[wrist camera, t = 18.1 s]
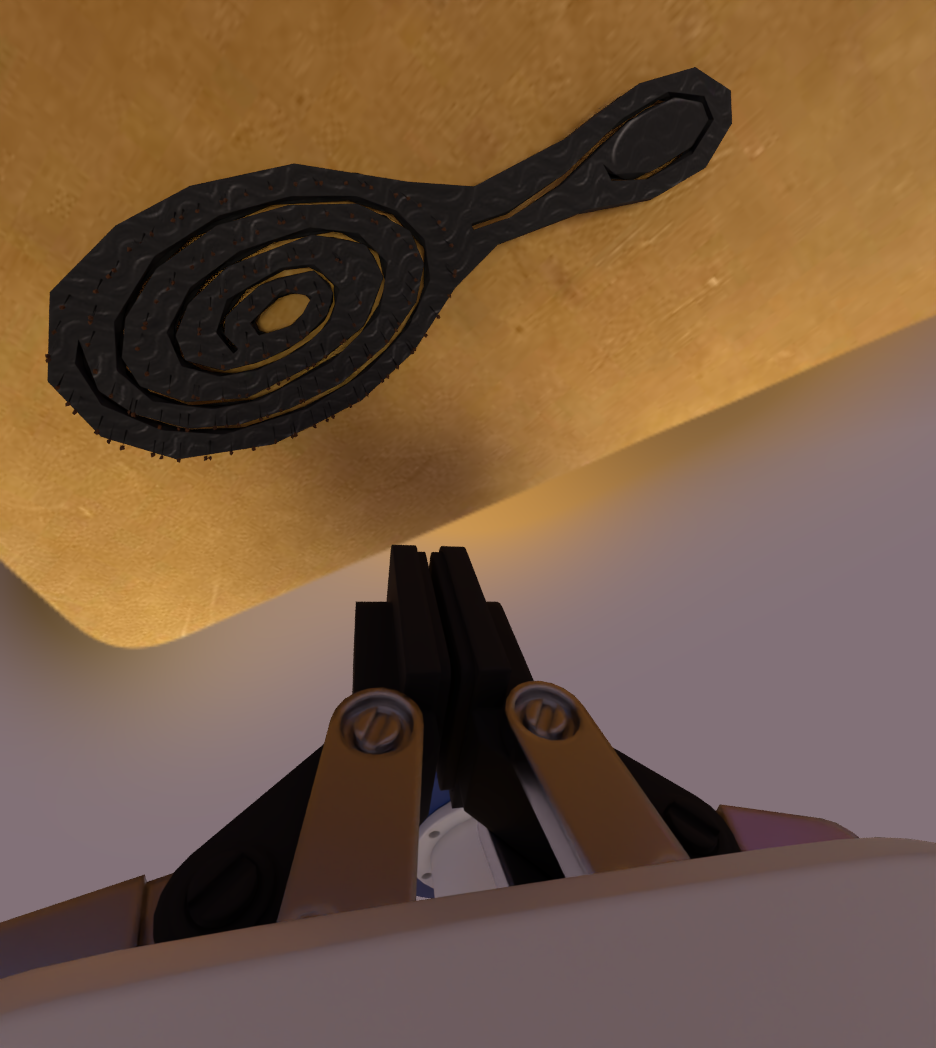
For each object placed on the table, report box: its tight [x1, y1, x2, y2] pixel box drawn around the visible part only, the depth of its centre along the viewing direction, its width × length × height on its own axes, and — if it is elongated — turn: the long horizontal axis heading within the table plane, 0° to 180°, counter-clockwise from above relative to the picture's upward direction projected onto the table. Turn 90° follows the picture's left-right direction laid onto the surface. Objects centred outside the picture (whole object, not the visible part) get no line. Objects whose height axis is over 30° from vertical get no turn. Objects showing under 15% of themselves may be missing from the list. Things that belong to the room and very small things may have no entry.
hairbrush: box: [45, 67, 732, 463], centre depth 16 cm, size 8×4×25 cm
